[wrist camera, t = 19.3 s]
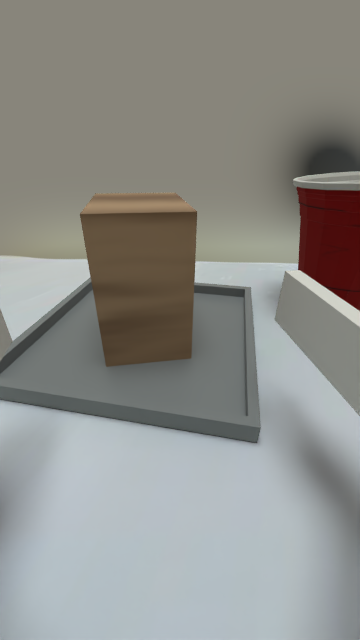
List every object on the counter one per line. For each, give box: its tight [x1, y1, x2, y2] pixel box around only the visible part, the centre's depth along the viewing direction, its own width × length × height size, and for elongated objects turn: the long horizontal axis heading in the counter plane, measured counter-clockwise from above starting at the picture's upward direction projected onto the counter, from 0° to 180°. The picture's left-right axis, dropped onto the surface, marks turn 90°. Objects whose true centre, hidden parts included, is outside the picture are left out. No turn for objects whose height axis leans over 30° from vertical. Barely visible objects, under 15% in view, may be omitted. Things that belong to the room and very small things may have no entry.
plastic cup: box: [293, 172, 360, 311], centre depth 24 cm, size 11×11×12 cm
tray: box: [0, 277, 261, 443], centre depth 23 cm, size 17×17×1 cm
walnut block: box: [80, 193, 197, 367], centre depth 20 cm, size 8×6×10 cm
